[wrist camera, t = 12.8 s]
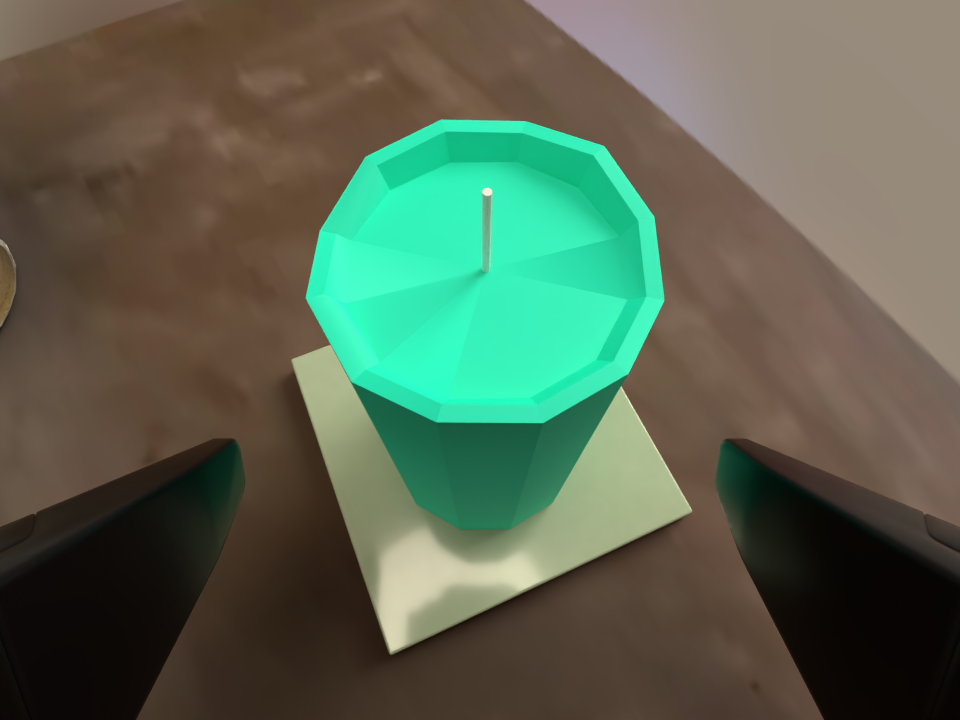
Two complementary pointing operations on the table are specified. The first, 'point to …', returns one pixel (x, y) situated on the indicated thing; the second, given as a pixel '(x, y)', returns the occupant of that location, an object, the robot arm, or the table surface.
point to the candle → (487, 307)
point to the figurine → (6, 281)
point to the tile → (476, 552)
